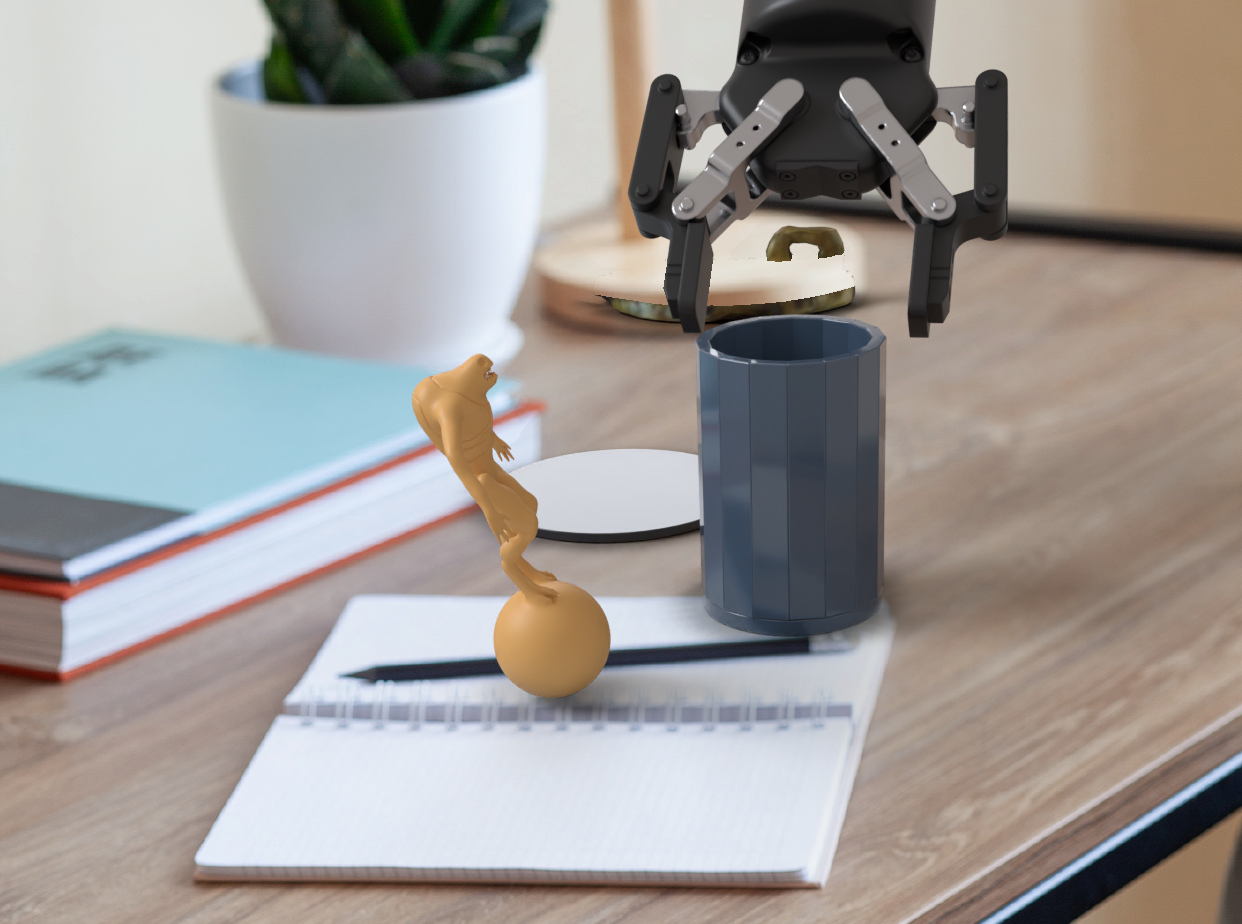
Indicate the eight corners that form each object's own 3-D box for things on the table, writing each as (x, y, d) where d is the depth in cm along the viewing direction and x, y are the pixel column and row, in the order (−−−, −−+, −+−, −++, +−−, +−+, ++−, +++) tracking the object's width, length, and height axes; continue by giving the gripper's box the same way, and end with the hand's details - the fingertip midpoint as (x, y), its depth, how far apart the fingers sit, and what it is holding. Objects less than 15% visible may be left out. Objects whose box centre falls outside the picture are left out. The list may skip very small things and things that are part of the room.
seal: (580, 342, 117) (851, 336, 114) (573, 261, 114) (850, 253, 111) (605, 283, 124) (859, 276, 122) (599, 206, 122) (858, 197, 119)
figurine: (618, 741, 68) (601, 383, 63) (433, 752, 68) (401, 395, 63) (608, 641, 75) (592, 314, 70) (441, 651, 75) (413, 325, 70)
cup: (896, 575, 80) (900, 316, 75) (862, 642, 74) (864, 367, 70) (728, 563, 82) (723, 311, 78) (682, 628, 76) (674, 360, 72)
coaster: (771, 463, 92) (771, 455, 92) (706, 550, 83) (706, 541, 83) (537, 451, 96) (537, 443, 96) (450, 533, 87) (449, 524, 87)
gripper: (652, -92, 81) (598, 270, 76) (1026, -105, 78) (996, 273, 73) (681, 31, 88) (633, 371, 83) (1026, 24, 85) (999, 378, 80)
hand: (802, 325), depth 78 cm, fingers open, 8 cm apart
